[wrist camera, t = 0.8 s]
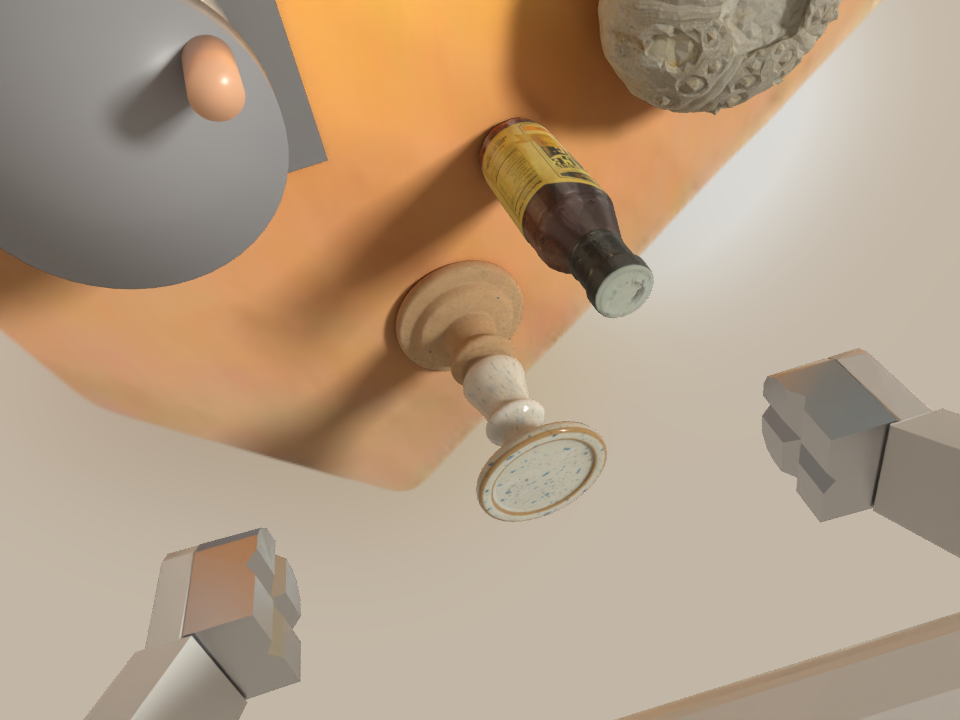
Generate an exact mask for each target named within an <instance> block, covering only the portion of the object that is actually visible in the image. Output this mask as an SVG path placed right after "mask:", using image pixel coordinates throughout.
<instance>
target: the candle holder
mask: <svg viewBox="0 0 960 720" xmlns="http://www.w3.org/2000/svg"><path fill="white" fill-rule="evenodd" d="M522 313H523V297H522V293H521V290H520V288H519V286H518V284H517V282H516V281H515V279H514V278H513V277H512V276H511V275H510V274H509V273H508V272H507V271H506V270H504V269H503V268H501V267H499V266H497V265H495V264H492V263H489V262H483V261H463V262H457V263H453V264H449V265H446V266H444V267H442V268H439V269H437V270H435V271H434V272H432V273H430V274H428V275H427V276H426V277H424V278H423V279H422V280H420V281H419V282H418V283H417V284H416V285H415V286H414V287H413V288H412V289H411V290H410V291H409V293H408V294H407V295H406V297H405V298H404V300H403V302H402V303H401V305H400V308H399V311H398V313H397V318H396V335H397V340H398V343H399V345H400V347H401V349H402V350H403V352H404V353H405V355H406V356H407V357H408V358H409V359H410V360H411V361H413V362H414V363H416V364H418V365H419V366H421V367H424V368H426V369H430V370H435V371H451V373H452V375H453V377H454V379H455V380H456V381H457V382H458V383H459V384H461V385H463V392H464V395H465V398H466V399H467V401H468V402H469V403H470V404H471V405H472V406H473V407H474V408H476V409H477V410H478V411H479V412H480V413H481V414H482V415H483V416H484V417H485V419H486V420H487V421H488V423H487V426H486V434H487V437H488V439H489V440H490V441H491V442H492V443H494V444H496V445H498V446H502V447H501V448H500V449H499V450H497V451H496V452H495V453H494V455H493V456H492V457H491V458H490V459H489V460H488V461H487V463H486V464H485V465H484V467H483V469H482V471H481V473H480V475H479V477H478V481H477V488H476V491H477V499H478V501H479V504H480V506H481V507H482V509H483V510H484V511H485V512H486V513H487V514H488V515H490V516H491V517H493V518H495V519H498V520H502V521H511V522H516V521H525V520H532V519H536V518H539V517H542V516H545V515H548V514H551V513H553V512H555V511H557V510H559V509H561V508H563V507H565V506H567V505H568V504H570V503H571V502H573V501H574V500H576V499H577V498H578V497H579V496H581V495H582V494H583V493H584V492H585V491H586V490H587V489H588V488H590V486H591V485H592V484H593V483H594V482H595V481H596V479H597V478H598V477H599V475H600V474H601V472H602V470H603V468H604V465H605V462H606V456H607V451H606V445H605V443H604V441H603V439H602V437H601V436H600V434H599V433H598V432H597V431H596V430H594V429H593V428H591V427H590V426H588V425H585V424H583V423H578V422H570V421H563V422H554V423H550V424H545V425H543V423H544V420H545V411H544V409H543V407H542V405H541V404H539V403H538V402H537V401H534V400H530V397H529V394H528V390H527V383H526V375H525V371H524V368H523V366H522V365H521V363H520V362H519V361H518V360H516V359H515V350H514V347H513V345H512V343H511V342H510V341H509V340H510V339H511V337H512V336H513V335H514V333H515V332H516V330H517V328H518V326H519V324H520V321H521V318H522Z"/></svg>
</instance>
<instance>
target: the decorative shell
mask: <svg viewBox="0 0 960 720" xmlns="http://www.w3.org/2000/svg"><path fill="white" fill-rule="evenodd" d="M841 1H842V0H599V4H598V10H597V11H598V17H599V24H600V39H601V44H602V48H603V52H604V56H605V57H606V59H607V61H608V62H609V63H610V65H611V66H612V68H613V70H614V71H615V73H616V74H617V76H618V77H619V78H620V79H621V80H622V81H623V82H624V84H625V85H626V87H627V88H628V90H629V92H630V93H631V94H633V95H634V96H636V97H638V98H639V99H641V100H645V101H646V102H647V103H649V104H651V105H652V106H654V107H656V108H660V109H664V110H670V111H672V112H679V113H688V112H703V111H705V112H708V113H712V114H714V115H716V114H717V113H718V112H719V110H720V109H721V108H732V107H733V106H736V105H739V104H741V103H743V102H745V101H747V100H749V99H750V98H752V97H753V96H755V95H757V94H759V93H761V92H763V91H765V90H767V89H769V88H770V87H772V86H773V85H774V84H780V83H781V82H782V81H783V80H782V78H784V77H785V76H786V75H787V74H788V73H790V72H791V71H792V70H793V69H794V68H795V67H796V66H797V65H798V64H799V63H800V62H801V61H802V58H803V56H804V55H805V54H806V53H808V52H809V51H810V50H811V49H812V48H813V47H814V44H815V42H816V41H817V40H818V39H819V38H820V37H821V36H822V34H823V33H824V32H825V29H826V27H827V25H828V24H829V22H831V21H833V20H837V18H838V16H839V11H838V6H839V5H840V3H841Z"/></svg>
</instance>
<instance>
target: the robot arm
mask: <svg viewBox="0 0 960 720" xmlns="http://www.w3.org/2000/svg"><path fill="white" fill-rule="evenodd" d="M763 396H764V397H765V398H766V400H767V401H768V402H769V403H770V406H769V407H768V409H767V410H766V411H765V413H764V414H763V416H762V433H763V436H764V440H765V443H766V447H767V449H768V451H769V453H770V455H771V457H772V459H773V460H774V462H775V463H776V464H777V466H778V467H779V468H780V470H781V471H783V472H785V473H788V474H790V475H792V476H795V477H797V493H798V494H799V495H800V496H801V498H802V499H803V500H804V502H805V503H806V504H807V506H808V507H809V508H810V510H811V511H812V512H813V513H814V515H815V516H816V517H817V518H818V520H819V521H820V522H823V521H827V520H831V519H834V518H838V517H841V516H845V515H849V514H852V513H856V512H860V511H863V510H867V509H870V508H873V511H875V512H877V513H878V514H880V515H882V516H884V517H886V518H888V519H889V520H891V521H893V522H895V523H897V524H899V525H901V526H902V527H904V528H906V529H908V530H910V531H912V532H913V533H915V534H917V535H919V536H921V537H923V538H924V539H926V540H928V541H930V542H932V543H934V544H935V545H937V546H939V547H941V548H943V549H945V550H947V551H948V552H950V553H952V554H954V555H956V556H958V557H959V558H960V414H958V413H954V412H951V411H948V410H945V409H939V410H936V411H932V410H931V409H930V408H929V407H928V406H927V405H926V404H925V403H924V402H922V401H921V400H920V399H919V398H918V397H917V396H916V395H915V394H914V393H913V392H911V391H910V390H909V389H908V388H907V387H906V386H905V385H904V384H903V383H901V382H900V381H899V380H898V379H897V378H896V377H895V376H894V375H893V374H892V373H890V372H889V371H888V370H887V369H886V368H885V367H884V366H883V365H882V364H880V363H879V362H878V361H877V360H876V359H875V358H874V357H872V355H870V354H869V353H868V352H867V351H865V350H862V349H860V348H858V349H854V350H851V351H848V352H845V353H841V354H838V355H835V356H832V357H829V358H827V359H822V360H819V361H815V362H812V363H809V364H806V365H802V366H799V367H796V368H793V369H790V370H786V371H783V372H780V373H777V374H773V375H770V376H768V377H767V378H766V380H765V382H764V390H763ZM300 614H301V613H300V596H299V590H298V585H297V581H296V578H295V575H294V573H293V570H292V568H291V566H290V565H289V563H288V561H287V559H285V558H283V557H280V556H278V555H275V540H274V539H273V537H272V536H271V534H270V533H269V531H268V530H267V528H259V529H255V530H251V531H248V532H244V533H240V534H237V535H234V536H229V537H226V538H222V539H218V540H215V541H211V542H207V543H204V544H200V545H199V546H195V547H191V548H188V549H184V550H180V551H177V552H173V553H169V554H167V556H166V557H165V559H164V560H163V562H162V564H161V569H160V574H159V579H158V584H157V590H156V595H155V600H154V605H153V611H152V615H151V621H150V626H149V631H148V636H147V641H146V647H145V649H144V650H141V651H138V652H135V653H134V655H133V656H132V657H131V659H130V660H129V661H128V662H127V664H126V665H125V666H124V668H123V669H122V670H121V672H120V673H119V674H118V676H117V677H116V678H115V679H114V681H113V682H112V683H111V685H110V686H109V687H108V689H107V690H106V691H105V692H104V694H103V695H102V696H101V698H100V699H99V700H98V702H97V703H96V704H95V705H94V707H93V708H92V709H91V711H90V712H89V713H88V714H87V716H86V717H85V718H84V720H239V718H240V716H241V714H242V712H243V710H244V708H245V706H246V704H247V701H246V699H249V698H252V697H255V696H258V695H261V694H264V693H267V692H270V691H273V690H275V689H279V688H282V687H285V686H288V685H291V684H294V683H297V682H300V654H301V653H300V651H301V650H300V649H301V648H300V647H301V645H300V644H301V642H300V640H299V639H298V637H297V636H296V634H295V632H294V631H293V627H294V626H295V624H296V623H297V621H298V619H299V618H300V616H301V615H300ZM616 720H960V612H959V613H956V614H952V615H949V616H946V617H943V618H940V619H936V620H933V621H930V622H927V623H924V624H921V625H917V626H914V627H911V628H908V629H904V630H901V631H898V632H895V633H892V634H888V635H885V636H882V637H879V638H876V639H873V640H869V641H866V642H863V643H860V644H856V645H853V646H850V647H847V648H844V649H840V650H837V651H834V652H831V653H828V654H824V655H821V656H818V657H815V658H811V659H808V660H805V661H802V662H798V663H796V664H792V665H789V666H786V667H783V668H779V669H776V670H773V671H770V672H766V673H764V674H760V675H757V676H754V677H751V678H747V679H744V680H741V681H738V682H734V683H731V684H728V685H725V686H722V687H718V688H715V689H712V690H709V691H706V692H702V693H699V694H696V695H693V696H690V697H686V698H683V699H680V700H677V701H674V702H670V703H667V704H664V705H661V706H657V707H654V708H651V709H648V710H645V711H641V712H639V713H635V714H632V715H629V716H626V717H623V718H619V719H616Z"/></svg>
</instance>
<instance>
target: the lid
mask: <svg viewBox="0 0 960 720" xmlns="http://www.w3.org/2000/svg"><path fill="white" fill-rule="evenodd" d="M288 167H289V147H288V140H287V133H286V128H285V124H284V121H283V117H282V114H281V110H280V108H279V105H278V102H277V100H276V97H275V94H274V91H273V89H272V86H271V84H270V82H269V80H268V77H267V75H266V73H265V70H264V69H263V67H262V65H261V64H260V62H259V60H258V59H257V57H256V55H255V54H254V52H253V51H252V49H251V48H250V47H249V45H248V44H247V43H246V42H245V40H244V39H243V38H242V36H241V35H240V34H239V33H238V32H237V31H236V30H235V29H234V28H233V27H232V26H231V25H230V24H229V23H228V22H227V21H226V20H225V19H224V18H223V17H222V16H221V15H219V14H218V13H217V12H216V11H214V10H213V9H212V8H211V7H209V6H208V5H207V4H206V3H204V2H203V1H201V0H0V248H1V249H3V250H4V251H6V252H7V253H9V254H10V255H12V256H14V257H16V258H17V259H19V260H21V261H23V262H25V263H26V264H28V265H30V266H32V267H35V268H37V269H39V270H42V271H44V272H46V273H48V274H51V275H54V276H57V277H60V278H63V279H66V280H69V281H73V282H78V283H82V284H86V285H91V286H98V287H105V288H113V289H146V288H157V287H163V286H170V285H175V284H179V283H182V282H186V281H190V280H193V279H196V278H198V277H201V276H203V275H206V274H208V273H211V272H213V271H214V270H216V269H218V268H220V267H222V266H224V265H226V264H227V263H229V262H230V261H232V260H233V259H235V258H236V257H237V256H239V255H240V254H242V253H243V252H244V251H245V250H246V249H247V248H248V247H249V246H250V245H252V244H253V243H254V242H255V240H256V239H257V238H258V237H259V236H260V235H261V233H262V232H263V231H264V230H265V229H266V227H267V225H268V224H269V222H270V221H271V219H272V218H273V216H274V214H275V212H276V210H277V208H278V206H279V203H280V201H281V199H282V195H283V192H284V189H285V185H286V180H287V173H288Z"/></svg>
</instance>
